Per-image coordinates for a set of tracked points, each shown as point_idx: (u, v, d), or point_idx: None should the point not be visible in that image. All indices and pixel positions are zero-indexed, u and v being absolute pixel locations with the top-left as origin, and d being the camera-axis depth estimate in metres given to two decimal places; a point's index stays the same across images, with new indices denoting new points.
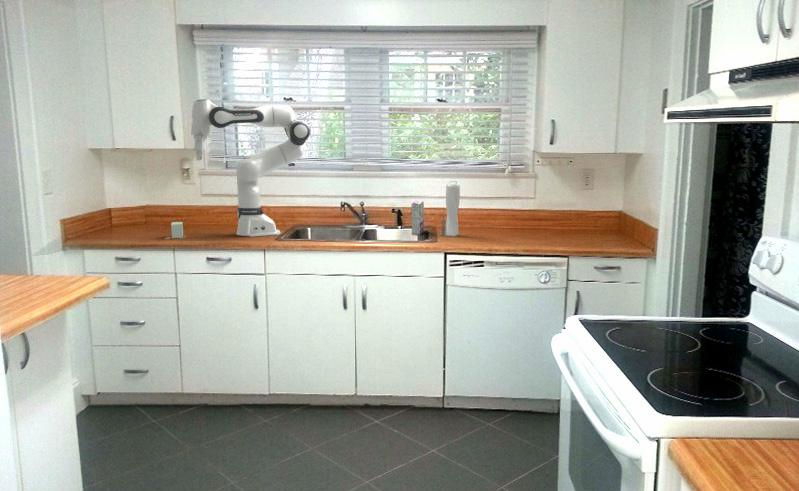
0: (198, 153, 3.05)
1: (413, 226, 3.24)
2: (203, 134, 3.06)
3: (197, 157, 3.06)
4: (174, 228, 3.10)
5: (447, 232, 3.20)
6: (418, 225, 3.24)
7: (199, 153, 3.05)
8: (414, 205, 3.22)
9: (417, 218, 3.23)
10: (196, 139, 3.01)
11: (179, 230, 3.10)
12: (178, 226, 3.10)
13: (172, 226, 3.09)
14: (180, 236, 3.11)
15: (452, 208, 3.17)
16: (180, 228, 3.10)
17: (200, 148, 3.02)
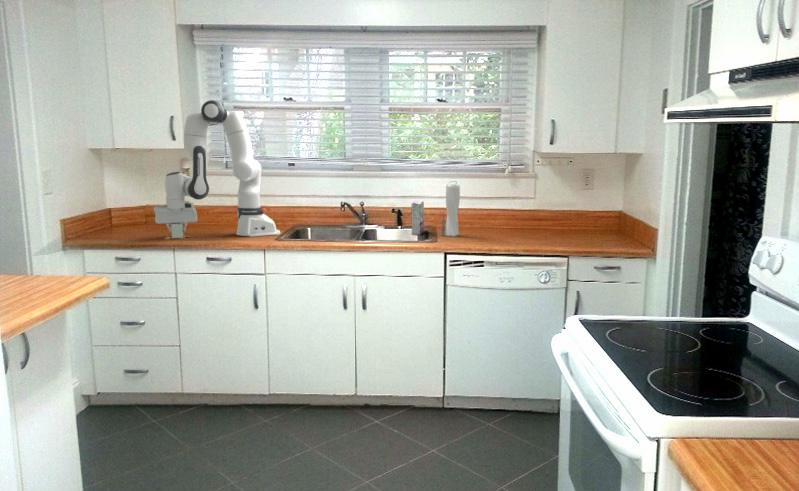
0: None
1: (413, 226, 3.24)
2: (167, 206, 3.09)
3: None
4: (174, 228, 3.10)
5: (447, 232, 3.20)
6: (418, 225, 3.24)
7: None
8: (414, 205, 3.22)
9: (417, 218, 3.23)
10: None
11: (179, 230, 3.10)
12: (178, 226, 3.10)
13: (172, 226, 3.09)
14: (180, 236, 3.11)
15: (452, 208, 3.17)
16: (180, 228, 3.10)
17: (155, 220, 3.10)
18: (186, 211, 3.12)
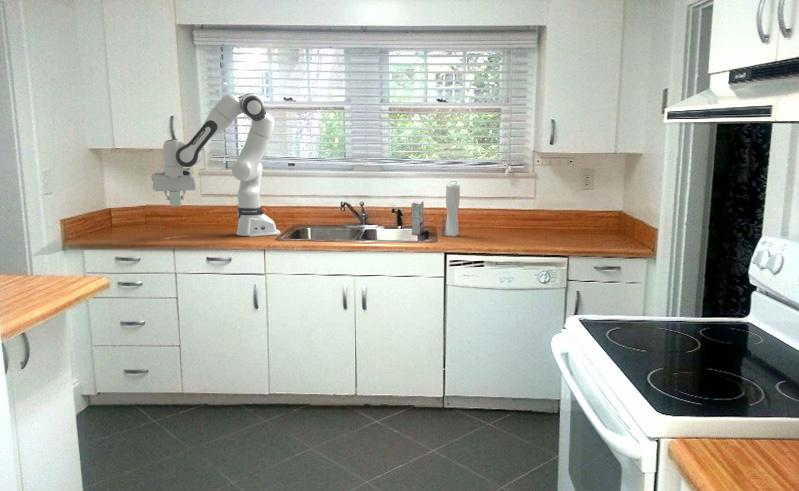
0: None
1: (413, 226, 3.24)
2: (165, 174, 3.07)
3: None
4: (172, 196, 3.07)
5: (447, 232, 3.20)
6: (418, 225, 3.24)
7: (164, 193, 3.09)
8: (414, 205, 3.22)
9: (417, 218, 3.23)
10: None
11: (177, 198, 3.08)
12: (176, 194, 3.07)
13: (170, 194, 3.06)
14: (178, 204, 3.08)
15: (452, 208, 3.17)
16: (178, 196, 3.08)
17: (153, 188, 3.07)
18: (184, 179, 3.10)
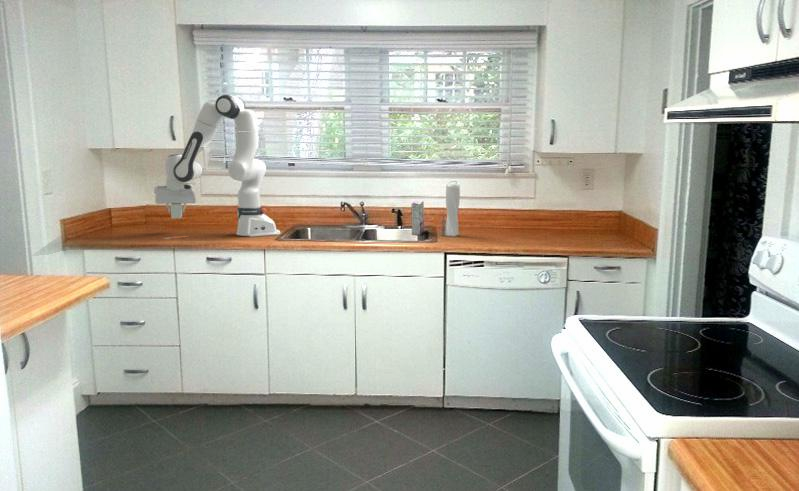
0: (166, 205, 3.24)
1: (413, 226, 3.24)
2: (167, 187, 3.21)
3: (168, 209, 3.25)
4: (173, 208, 3.21)
5: (447, 232, 3.20)
6: (418, 225, 3.24)
7: (166, 205, 3.24)
8: (414, 205, 3.22)
9: (417, 218, 3.23)
10: None
11: (178, 210, 3.22)
12: (177, 206, 3.22)
13: (172, 206, 3.21)
14: (179, 216, 3.23)
15: (452, 208, 3.17)
16: (179, 208, 3.22)
17: (155, 200, 3.21)
18: (185, 192, 3.24)
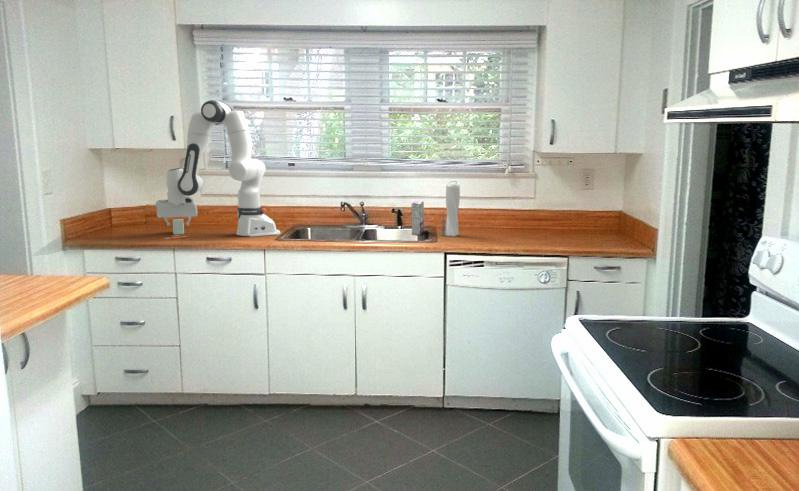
0: (164, 219, 3.25)
1: (413, 226, 3.24)
2: (168, 201, 3.22)
3: (167, 223, 3.26)
4: (175, 225, 3.23)
5: (447, 232, 3.20)
6: (418, 225, 3.24)
7: (164, 219, 3.24)
8: (414, 205, 3.22)
9: (417, 218, 3.23)
10: None
11: (180, 227, 3.24)
12: (179, 223, 3.23)
13: (173, 223, 3.22)
14: (181, 233, 3.24)
15: (452, 208, 3.17)
16: (181, 225, 3.24)
17: (157, 215, 3.22)
18: (187, 206, 3.25)
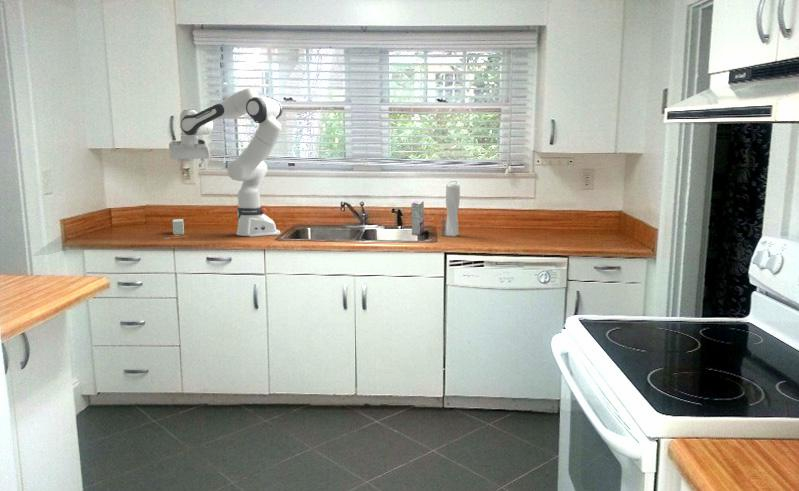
0: (178, 160, 3.30)
1: (413, 226, 3.24)
2: (181, 142, 3.27)
3: (180, 164, 3.31)
4: (175, 225, 3.23)
5: (447, 232, 3.20)
6: (418, 225, 3.24)
7: None
8: (414, 205, 3.22)
9: (417, 218, 3.23)
10: None
11: (180, 227, 3.24)
12: (179, 223, 3.23)
13: (173, 223, 3.22)
14: (181, 233, 3.24)
15: (452, 208, 3.17)
16: (181, 225, 3.24)
17: (170, 156, 3.27)
18: (199, 147, 3.30)
